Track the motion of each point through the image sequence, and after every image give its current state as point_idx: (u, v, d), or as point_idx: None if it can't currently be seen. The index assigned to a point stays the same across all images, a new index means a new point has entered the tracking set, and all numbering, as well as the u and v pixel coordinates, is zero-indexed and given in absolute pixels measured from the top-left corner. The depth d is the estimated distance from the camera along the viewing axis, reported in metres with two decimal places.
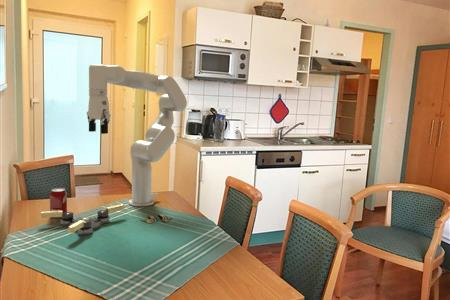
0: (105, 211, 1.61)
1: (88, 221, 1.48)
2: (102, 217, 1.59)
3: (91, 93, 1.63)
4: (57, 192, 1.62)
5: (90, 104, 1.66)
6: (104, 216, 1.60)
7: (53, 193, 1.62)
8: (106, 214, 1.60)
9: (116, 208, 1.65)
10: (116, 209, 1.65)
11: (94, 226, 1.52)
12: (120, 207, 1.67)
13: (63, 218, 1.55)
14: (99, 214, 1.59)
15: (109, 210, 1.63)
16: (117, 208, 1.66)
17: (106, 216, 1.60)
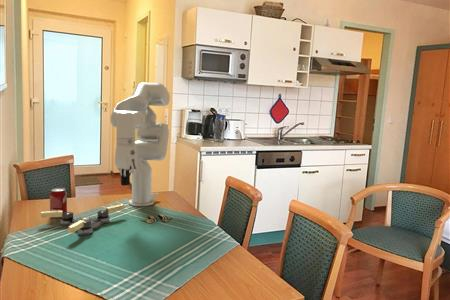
0: (105, 211, 1.61)
1: (88, 221, 1.48)
2: (102, 217, 1.59)
3: (119, 142, 1.55)
4: (57, 192, 1.62)
5: (117, 153, 1.59)
6: (104, 216, 1.60)
7: (53, 193, 1.62)
8: (106, 214, 1.60)
9: (116, 208, 1.65)
10: (116, 209, 1.65)
11: (94, 226, 1.52)
12: (120, 207, 1.67)
13: (63, 218, 1.55)
14: (99, 214, 1.59)
15: (109, 210, 1.63)
16: (117, 208, 1.66)
17: (106, 216, 1.60)
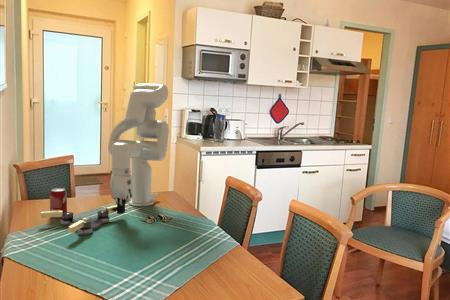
0: (105, 211, 1.62)
1: (88, 221, 1.48)
2: (102, 217, 1.60)
3: (115, 173, 1.59)
4: (57, 192, 1.62)
5: (113, 183, 1.62)
6: (104, 216, 1.60)
7: (53, 193, 1.62)
8: (106, 214, 1.60)
9: (116, 208, 1.65)
10: (116, 209, 1.66)
11: (94, 226, 1.52)
12: None
13: (63, 218, 1.55)
14: (99, 214, 1.59)
15: (109, 210, 1.63)
16: None
17: (106, 216, 1.61)
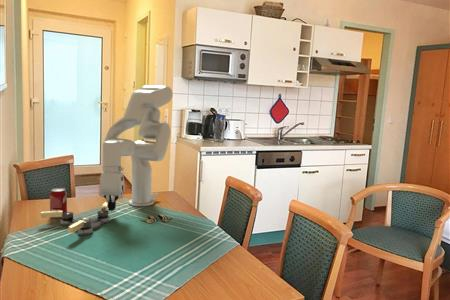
0: (104, 210, 1.62)
1: (88, 221, 1.48)
2: (106, 216, 1.61)
3: (109, 171, 1.62)
4: (57, 192, 1.62)
5: (104, 181, 1.64)
6: (107, 215, 1.61)
7: (53, 193, 1.62)
8: None
9: (106, 206, 1.67)
10: None
11: (94, 226, 1.52)
12: (107, 205, 1.69)
13: (63, 218, 1.55)
14: (104, 214, 1.60)
15: (105, 209, 1.64)
16: (107, 206, 1.68)
17: None
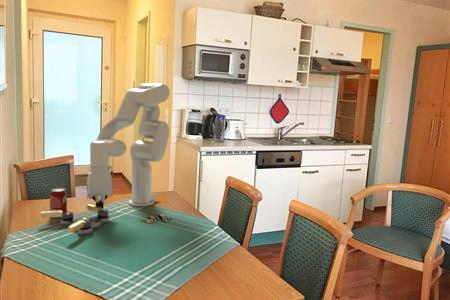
0: (103, 210, 1.62)
1: (88, 221, 1.48)
2: None
3: (103, 171, 1.62)
4: (57, 192, 1.62)
5: (95, 182, 1.63)
6: None
7: (53, 193, 1.62)
8: None
9: None
10: None
11: (94, 226, 1.52)
12: None
13: (63, 218, 1.55)
14: (107, 213, 1.61)
15: None
16: None
17: None
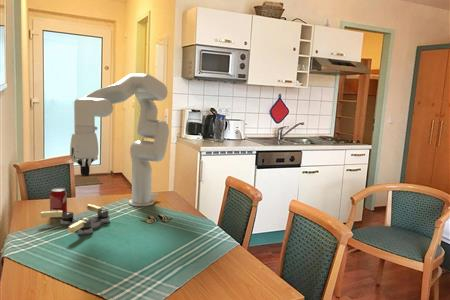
0: (103, 210, 1.62)
1: (88, 221, 1.48)
2: None
3: (91, 131, 1.49)
4: (57, 192, 1.62)
5: (82, 143, 1.48)
6: None
7: (53, 193, 1.62)
8: None
9: None
10: None
11: (94, 226, 1.52)
12: None
13: (63, 218, 1.55)
14: (107, 213, 1.61)
15: None
16: None
17: None
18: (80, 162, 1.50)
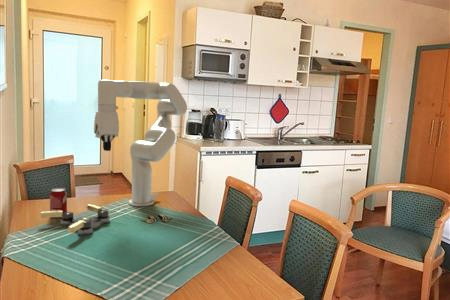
0: (103, 210, 1.62)
1: (88, 221, 1.48)
2: None
3: (113, 109, 1.64)
4: (57, 192, 1.62)
5: (105, 120, 1.63)
6: None
7: (53, 193, 1.62)
8: None
9: None
10: None
11: (94, 226, 1.52)
12: None
13: (63, 218, 1.55)
14: (107, 213, 1.61)
15: None
16: None
17: None
18: (103, 138, 1.65)
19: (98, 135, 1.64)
